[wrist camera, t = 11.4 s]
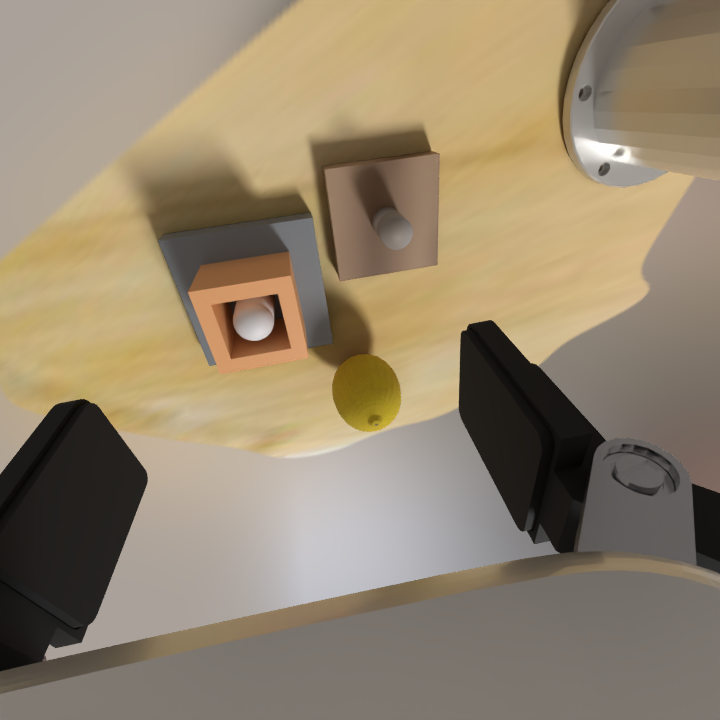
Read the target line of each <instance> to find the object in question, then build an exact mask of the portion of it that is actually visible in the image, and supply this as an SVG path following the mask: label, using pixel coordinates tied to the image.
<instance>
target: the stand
mask: <svg viewBox="0 0 720 720" xmlns="http://www.w3.org/2000/svg"><path fill="white" fill-rule="evenodd" d="M439 158H440V154H439V153H436V152H433V151H430V152H423V153H416V154H408V155H401V156H394V157H387V158H379V159H372V160H365V161H357V162H350V163H343V164H336V165H328V166H322V168H323V175H324V182H325V189H326V196H327V203H328V210H329V217H330V224H331V231H332V239H333V246H334V253H335V260H336V267H337V274H338V277H339V280H340V281H344V280H350V279H356V278H363V277H369V276H375V275H381V274H387V273H393V272H399V271H405V270H411V269H417V268H423V267H429V266H435V265H437V254H438V206H439Z"/></svg>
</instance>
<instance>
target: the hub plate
mask: <svg viewBox="0 0 720 720" xmlns="http://www.w3.org/2000/svg"><path fill="white" fill-rule="evenodd" d="M158 242H159V244H160V247H161V249H162V252H163V254H164V257H165V259H166V261H167V264H168V266H169V269H170V271H171V274H172V276H173V278H174V281H175V283H176V286H177V288H178V291H179V293H180V296H181V298H182V300H183V303H184V305H185V308H186V310H187V313H188V315H189V317H190V320H191V322H192V325H193V327H194V330H195V332H196V335H197V337H198V339H199V342H200V344H201V347H202V349H203V352H204V354H205V356H206V359H207V361H208V364H209V366H212V365H216V362H215V360H214V357H213V355H212V352H211V350H210V347H209V345H208V342H207V339H206V337H205V334H204V332H203V329H202V327H201V324H200V322H199V319H198V317H197V314H196V312H195V309H194V307H193V304H192V302H191V299H190V297H189V294H188V291H189V289H190V287H191V285H192V283H193V281H194V278H195V276H196V274H197V272H198V270H199V268H200V266H201V265H205V264H212V263H218V262H224V261H231V260H237V259H243V258H250V257H256V256H263V255H269V254H275V253H282V252H288V251H289V253H290V258H291V263H292V267H293V272H294V277H295V281H296V286H297V291H298V296H299V300H300V305H301V310H302V315H303V319H304V324H305V331H306V339H307V347H308V348H311V347H317V346H322V345H328V344H333V339H332V333H331V327H330V321H329V315H328V309H327V303H326V297H325V291H324V285H323V278H322V272H321V266H320V260H319V254H318V248H317V242H316V236H315V230H314V224H313V218H312V215H311V212H310V213H304V214H297V215H290V216H283V217H277V218H270V219H263V220H256V221H250V222H243V223H236V224H230V225H223V226H216V227H209V228H203V229H196V230H189V231H182V232H176V233H169V234H164V235H163V236H162V237H161V238H160V239H159V240H158ZM229 304H230V307H231V310H232V313H233V325H234V328H235V330H236V332H237V333H238V334H239V335H240V336H241V337H243V338H244V339H247V340H251V341H258V340H261V339H264V338H265V337H267V336H268V335H269V334H270V333H271V331H272V329H273V326H274V320H277V319H283V318H284V317H283V313H282V308H281V304H280V300H279V296H278V294H273V295H267V296H261V297H255V298H249V299H243V300H237V301H231V302H229Z"/></svg>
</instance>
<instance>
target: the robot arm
mask: <svg viewBox="0 0 720 720" xmlns="http://www.w3.org/2000/svg"><path fill="white" fill-rule="evenodd" d="M563 131H564V140H565V144H566V147H567V150H568V154H569V156H570V158H571V160H572V161H573V163H574V165H575V166H576V168H577V169H578V170H579V171H580V172H581V173H582V174H583V175H584V176H585V177H587V178H589V179H590V180H592V181H594V182H596V183H599V184H603V185H607V186H610V187H623V188H625V187H631V186H638V185H641V184H644V183H647V182H650V181H652V180H655V179H657V178H658V177H660V176H662V175H664V174H666V173H668V172H674V173H680V174H685V175H691V176H697V177H703V178H708V179H714V180H720V0H610V1H609V2H608V3H607V4H606V6H605V7H604V8H603V10H602V11H601V13H600V14H599V16H598V17H597V19H596V20H595V22H594V23H593V25H592V26H591V28H590V29H589V31H588V33H587V35H586V37H585V39H584V41H583V43H582V45H581V47H580V49H579V51H578V53H577V56H576V59H575V61H574V64H573V67H572V70H571V73H570V76H569V79H568V84H567V88H566V93H565V98H564V107H563ZM459 412H460V416H461V419H462V421H463V423H464V425H465V427H466V429H467V431H468V433H469V435H470V437H471V438H472V441H473V442H474V444H475V446H476V448H477V450H478V452H479V454H480V456H481V458H482V460H483V462H484V464H485V466H486V467H487V469H488V471H489V473H490V475H491V477H492V479H493V481H494V483H495V485H496V487H497V489H498V491H499V493H500V494H501V496H502V498H503V500H504V502H505V504H506V506H507V508H508V510H509V512H510V514H511V516H512V518H513V520H514V522H515V523H516V525H517V527H518V528H519V530H520V531H527V532H528V533H529V535H530V537H531V538H532V541H533V543H534V544H537V543H542V542H547V541H551V543H552V545H553V547H554V548H555V550H556V551H557V552H559V553H560V554H553V555H546V556H540V557H532V558H525V559H520V560H515V561H510V562H504V563H499V564H494V565H489V566H484V567H479V568H474V569H468V570H463V571H459V572H453V573H448V574H443V575H438V576H433V577H429V578H424V579H419V580H415V581H410V582H405V583H401V584H396V585H391V586H386V587H382V588H377V589H372V590H368V591H363V592H358V593H353V594H349V595H344V596H340V597H335V598H330V599H325V600H321V601H316V602H311V603H307V604H302V605H298V606H293V607H288V608H284V609H279V610H275V611H270V612H266V613H261V614H257V615H251V616H247V617H242V618H238V619H233V620H229V621H224V622H219V623H215V624H210V625H206V626H201V627H196V628H192V629H188V630H183V631H178V632H174V633H169V634H165V635H160V636H155V637H151V638H146V639H142V640H138V641H133V642H129V643H124V644H120V645H115V646H111V647H106V648H102V649H97V650H93V651H88V652H84V653H80V654H75V655H70V656H66V657H62V658H57V659H53V660H48V661H47V660H46V657H45V652H46V650H47V648H48V646H49V644H50V645H52V646H53V647H55V648H58V647H63V646H68V645H72V644H76V643H81V642H82V640H83V637H84V635H85V632H86V630H87V627H88V625H89V624H91V623H92V622H93V621H94V619H95V618H96V616H97V614H98V611H99V608H100V606H101V603H102V600H103V598H104V595H105V592H106V590H107V587H108V585H109V582H110V580H111V577H112V574H113V572H114V569H115V566H116V564H117V561H118V559H119V556H120V553H121V551H122V548H123V546H124V543H125V540H126V538H127V535H128V532H129V530H130V527H131V524H132V522H133V519H134V517H135V514H136V511H137V509H138V506H139V504H140V501H141V498H142V496H143V493H144V491H145V488H146V485H147V481H148V480H147V479H148V477H147V473H146V470H145V469H144V467H143V466H142V465H141V463H140V462H139V461H138V459H137V458H136V457H135V456H134V454H133V453H132V451H131V450H130V449H129V447H128V446H127V445H126V443H125V442H124V440H123V439H122V438H121V436H120V435H119V434H118V432H117V431H116V430H115V428H114V427H113V426H112V424H111V423H110V422H109V420H108V419H107V418H106V416H105V415H104V413H103V412H102V411H101V409H100V408H99V407H98V406H97V405H96V404H94V403H90V402H89V401H87V400H85V399H80V400H75V401H69V402H64V403H59V404H57V405H55V406H54V407H53V408H52V409H51V410H50V411H49V413H48V414H47V415H46V417H45V418H44V419H43V420H42V422H41V423H40V424H39V425H38V427H37V428H36V429H35V431H34V432H33V433H32V434H31V436H30V437H29V438H28V440H27V441H26V442H25V444H24V445H23V446H22V447H21V448H20V450H19V451H18V452H17V454H16V455H15V456H14V457H13V459H12V460H11V461H10V463H9V464H8V465H7V466H6V468H5V469H4V470H3V472H2V473H1V474H0V720H720V493H718V492H715V491H712V490H709V489H706V488H703V487H700V486H697V485H695V484H692V483H691V480H690V476H689V473H688V472H687V470H686V469H685V468H684V466H683V465H682V464H681V462H679V461H678V460H677V459H676V458H675V457H674V456H672V455H671V454H670V453H668V452H666V451H665V450H663V449H661V448H659V447H658V446H656V445H653V444H650V443H647V442H645V441H642V440H635V439H630V438H615V439H612V440H608V441H606V440H605V439H604V438H603V437H602V436H601V434H600V433H599V432H598V431H597V430H596V429H595V428H594V427H593V426H592V425H591V423H590V422H589V421H588V420H587V419H586V418H585V417H584V416H583V415H582V414H581V412H580V411H579V410H578V409H577V408H576V407H575V406H574V405H573V404H572V402H571V401H569V399H568V398H567V397H566V396H565V395H564V394H563V393H562V392H561V390H560V389H559V388H558V387H557V386H556V385H555V384H554V383H553V382H552V381H551V379H550V378H549V377H548V376H547V375H546V374H545V373H544V372H543V371H542V370H541V368H540V367H538V366H537V365H536V364H533V363H530V362H529V361H528V360H527V359H526V358H525V356H524V355H523V354H522V353H521V352H520V351H519V350H518V349H517V347H516V346H515V345H514V344H513V343H512V342H511V341H510V340H509V338H508V337H507V336H506V335H505V334H504V333H503V332H502V331H501V329H500V328H499V327H498V326H497V325H496V324H495V323H494V322H493V321H492V320H488V321H483V322H478V323H473V324H469V325H468V327H467V330H466V331H462V333H461V345H460V382H459Z"/></svg>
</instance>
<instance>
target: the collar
mask: <svg viewBox="0 0 720 720" xmlns="http://www.w3.org/2000/svg"><path fill="white" fill-rule="evenodd" d="M188 294H189V297H190V299H191V302H192V304H193V307H194V309H195V312H196V314H197V317H198V319H199V322H200V324H201V327H202V329H203V332H204V334H205V337H206V339H207V342H208V345H209V347H210V350H211V352H212V355H213V357H214V360H215V362H216V365H217V367H218V370H219V372H220V374H224V373H229V372H235V371H240V370H246V369H251V368H256V367H262V366H267V365H273V364H278V363H284V362H289V361H295V360H300V359H306V358H309V355H308V347H307V339H306V331H305V324H304V319H303V315H302V310H301V305H300V300H299V296H298V291H297V286H296V281H295V277H294V272H293V267H292V263H291V258H290V253H289V251H288V252H282V253H275V254H269V255H263V256H256V257H250V258H243V259H237V260H231V261H224V262H218V263H212V264H205V265H201V266H200V268H199V270H198V272H197V274H196V276H195V278H194V281H193V283H192V285H191V287H190V289H189V291H188ZM273 294H278V296H279V300H280V304H281V308H282V313H283V317H284V318H283V319H277V320H274V326H273V329H272V331H271V333H270V334H269V335H268V336H267V337H265V338H264V339H261V340H258V341H251V340H247V339H244V338H243V337H241V336H240V335H239V334H238V333H237V332H236V330H235V328H234V325H233V313H232V310H231V307H230V304H229V302H231V301H237V300H243V299H249V298H255V297H261V296H267V295H273Z"/></svg>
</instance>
